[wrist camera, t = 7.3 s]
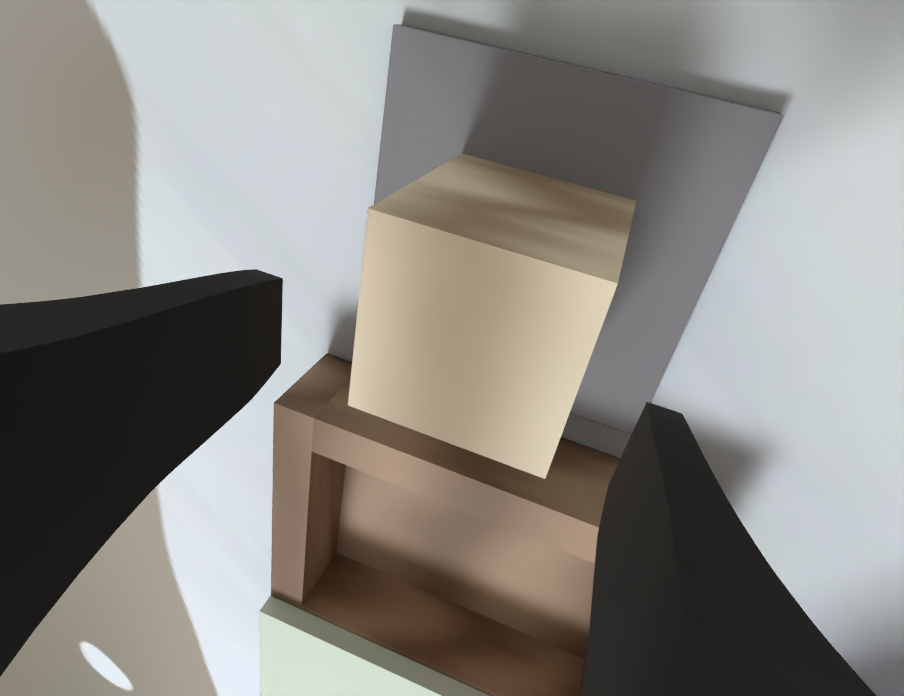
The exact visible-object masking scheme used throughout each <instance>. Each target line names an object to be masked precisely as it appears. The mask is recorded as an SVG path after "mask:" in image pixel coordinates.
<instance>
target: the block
mask: <svg viewBox="0 0 904 696" xmlns="http://www.w3.org/2000/svg"><path fill="white" fill-rule="evenodd" d="M635 204H636V200H632V199H628V198H625V197H621V196H617V195H613V194H610V193H606V192H602V191H599V190H595V189H591V188H588V187H584V186H580V185H577V184H573V183H569V182H566V181H562V180H558V179H555V178H551V177H547V176H544V175H540V174H536V173H533V172H529V171H525V170H521V169H518V168H514V167H510V166H507V165H503V164H499V163H496V162H492V161H488V160H485V159H481V158H477V157H474V156H470V155H466V154H463V153H461V154H460V155H458V156H456V157H455V158H453V159H451V160H449V161H448V162H446V163H444V164H443V165H441V166H439V167H438V168H436V169H434V170H432V171H431V172H429V173H427V174H426V175H424V176H422V177H420V178H419V179H417V180H415V181H414V182H412V183H410V184H409V185H407V186H405V187H403V188H402V189H400V190H398V191H397V192H395V193H393V194H392V195H390V196H388V197H386V198H385V199H383V200H381V201H380V202H378V203H376V204H375V205H373V206H371V207H369V208H368V213H367V223H366V232H365V242H364V252H363V262H362V271H361V281H360V291H359V301H358V310H357V320H356V330H355V340H354V350H353V359H352V369H351V379H350V389H349V398H348V406H351V407H354V408H356V409H359V410H362V411H364V412H367V413H370V414H372V415H375V416H378V417H380V418H383V419H386V420H388V421H391V422H394V423H396V424H399V425H402V426H405V427H407V428H410V429H413V430H415V431H418V432H421V433H423V434H426V435H429V436H431V437H434V438H437V439H439V440H442V441H445V442H447V443H450V444H453V445H455V446H458V447H461V448H463V449H466V450H469V451H471V452H474V453H477V454H479V455H482V456H485V457H487V458H490V459H493V460H495V461H498V462H501V463H503V464H506V465H509V466H511V467H514V468H517V469H520V470H522V471H525V472H528V473H530V474H533V475H536V476H538V477H541V478H544V479H545V478H546V476H547V473H548V470H549V467H550V465H551V462H552V459H553V457H554V454H555V451H556V449H557V446H558V443H559V441H560V438H561V435H562V433H563V430H564V427H565V424H566V422H567V419H568V416H569V414H570V411H571V408H572V406H573V403H574V400H575V398H576V395H577V392H578V390H579V387H580V384H581V381H582V379H583V376H584V373H585V371H586V368H587V365H588V363H589V360H590V357H591V355H592V352H593V349H594V347H595V344H596V341H597V338H598V336H599V333H600V330H601V328H602V325H603V322H604V320H605V317H606V314H607V312H608V309H609V306H610V303H611V301H612V298H613V295H614V293H615V290H616V287H617V285H618V281H619V276H620V272H621V267H622V263H623V258H624V254H625V249H626V245H627V240H628V236H629V231H630V227H631V222H632V218H633V213H634V209H635Z"/></svg>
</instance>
